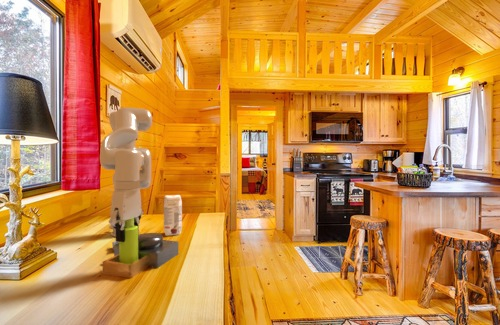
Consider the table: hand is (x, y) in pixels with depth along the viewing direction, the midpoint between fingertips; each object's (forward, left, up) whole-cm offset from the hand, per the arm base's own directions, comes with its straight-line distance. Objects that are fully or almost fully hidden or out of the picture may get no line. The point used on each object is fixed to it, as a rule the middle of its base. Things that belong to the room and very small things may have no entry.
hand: (127, 237), depth 92 cm
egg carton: (-15, +18, -11) cm, 26 cm away
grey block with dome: (0, +6, -11) cm, 13 cm away
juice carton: (-8, +42, -11) cm, 44 cm away
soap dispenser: (0, 0, -10) cm, 10 cm away
